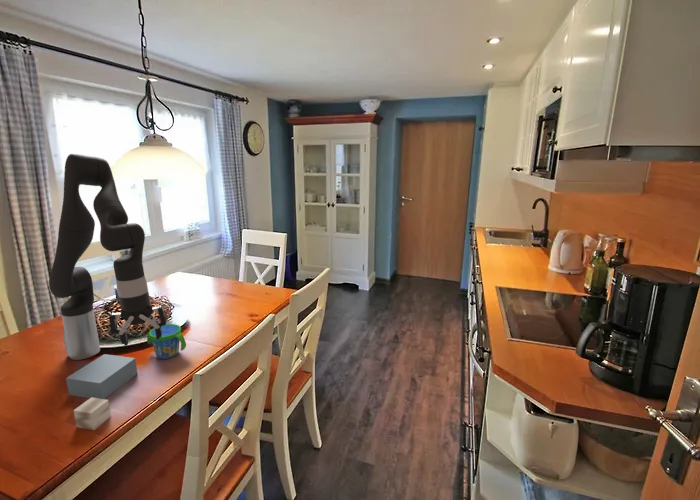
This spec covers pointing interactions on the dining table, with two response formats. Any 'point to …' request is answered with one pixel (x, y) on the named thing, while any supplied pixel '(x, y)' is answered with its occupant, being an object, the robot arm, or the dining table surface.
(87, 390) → the slate stand
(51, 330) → the dining table surface
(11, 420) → the dining table surface
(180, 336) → the snack cup
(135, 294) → the robot arm
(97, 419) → the cream cube
